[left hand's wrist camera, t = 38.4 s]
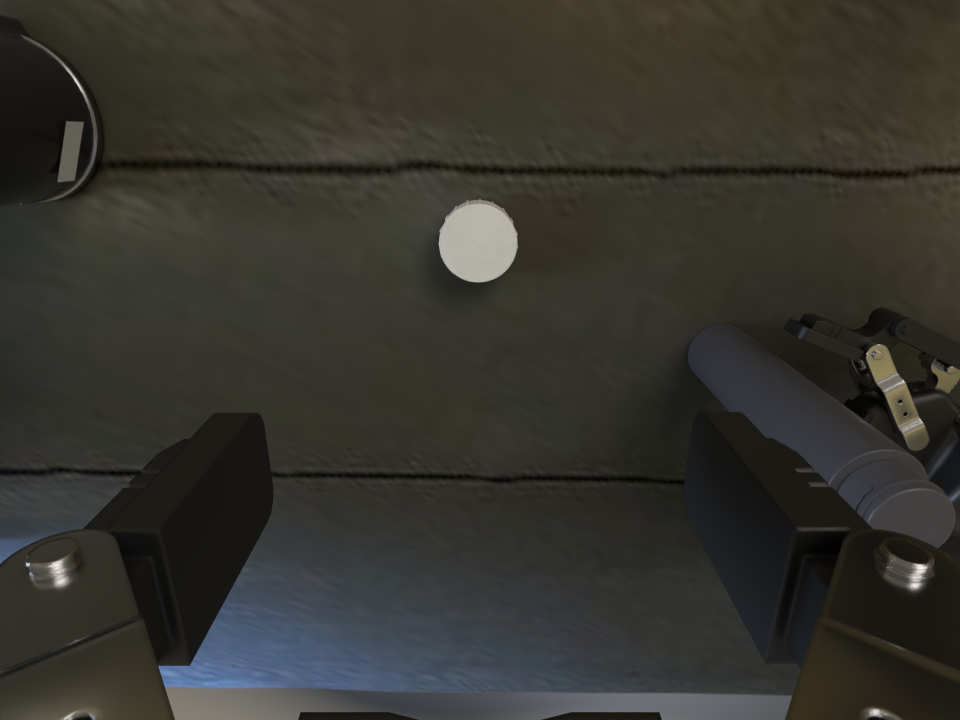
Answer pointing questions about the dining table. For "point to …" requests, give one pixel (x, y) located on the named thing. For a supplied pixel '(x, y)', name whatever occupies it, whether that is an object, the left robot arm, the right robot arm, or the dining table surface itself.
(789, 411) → the bottle
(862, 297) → the dining table surface
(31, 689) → the left robot arm
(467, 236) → the lid
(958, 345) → the right robot arm
